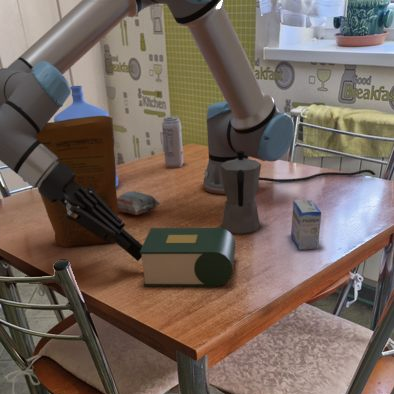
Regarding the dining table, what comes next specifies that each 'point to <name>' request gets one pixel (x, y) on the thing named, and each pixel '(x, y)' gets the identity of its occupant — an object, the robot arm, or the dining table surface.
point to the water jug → (80, 110)
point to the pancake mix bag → (82, 170)
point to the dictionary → (188, 257)
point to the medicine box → (305, 224)
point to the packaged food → (136, 203)
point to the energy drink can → (172, 141)
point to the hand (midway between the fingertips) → (142, 255)
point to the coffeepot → (240, 194)
